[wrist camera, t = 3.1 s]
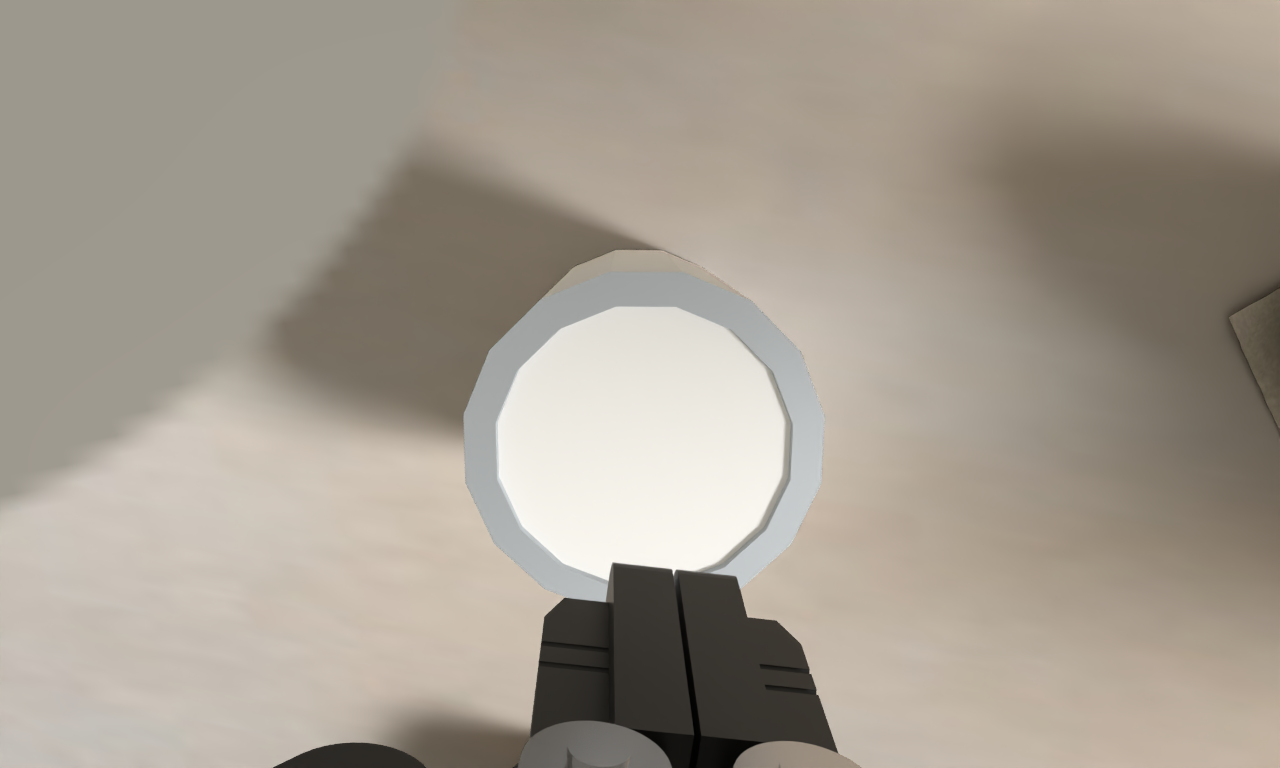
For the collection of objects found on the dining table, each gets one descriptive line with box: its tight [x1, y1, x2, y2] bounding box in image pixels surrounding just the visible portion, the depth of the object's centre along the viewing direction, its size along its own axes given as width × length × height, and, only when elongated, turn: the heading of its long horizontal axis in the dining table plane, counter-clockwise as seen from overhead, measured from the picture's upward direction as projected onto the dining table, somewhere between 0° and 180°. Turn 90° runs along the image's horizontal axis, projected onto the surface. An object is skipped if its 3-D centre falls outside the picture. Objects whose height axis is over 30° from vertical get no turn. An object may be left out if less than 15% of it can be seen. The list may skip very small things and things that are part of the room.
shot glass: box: [463, 250, 825, 602], centre depth 24 cm, size 7×7×7 cm
